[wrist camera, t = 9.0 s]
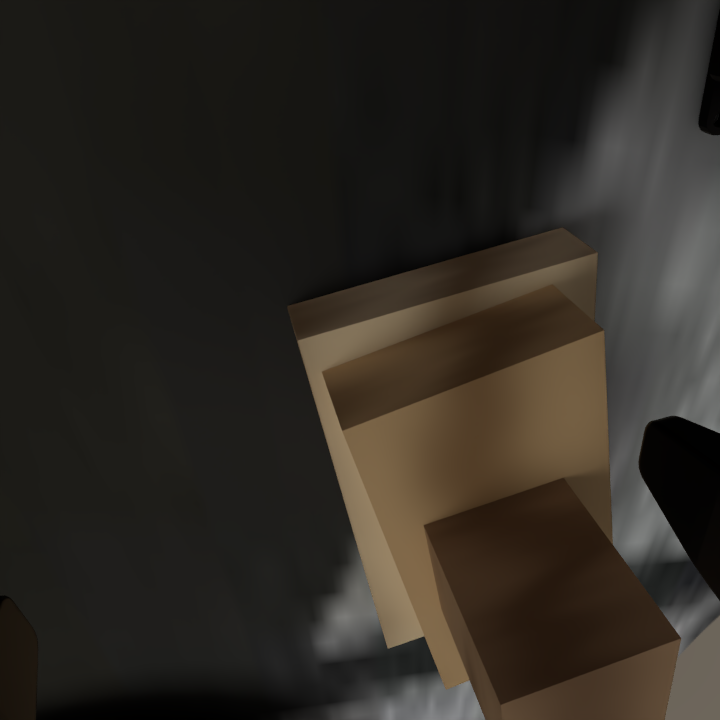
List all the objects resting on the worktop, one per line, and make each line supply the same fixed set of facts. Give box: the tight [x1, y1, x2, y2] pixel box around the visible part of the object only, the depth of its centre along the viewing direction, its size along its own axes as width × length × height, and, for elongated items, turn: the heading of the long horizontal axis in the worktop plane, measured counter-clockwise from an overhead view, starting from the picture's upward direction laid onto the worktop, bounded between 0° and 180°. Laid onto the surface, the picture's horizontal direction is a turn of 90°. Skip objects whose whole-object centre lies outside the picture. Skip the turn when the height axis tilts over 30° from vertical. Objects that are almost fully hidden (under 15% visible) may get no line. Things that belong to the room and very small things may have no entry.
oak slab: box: [322, 284, 613, 689], centre depth 23 cm, size 8×16×3 cm, turn 16°
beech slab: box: [287, 227, 598, 648], centre depth 26 cm, size 10×18×3 cm, turn 11°
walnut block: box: [424, 478, 681, 720], centre depth 20 cm, size 5×5×6 cm
